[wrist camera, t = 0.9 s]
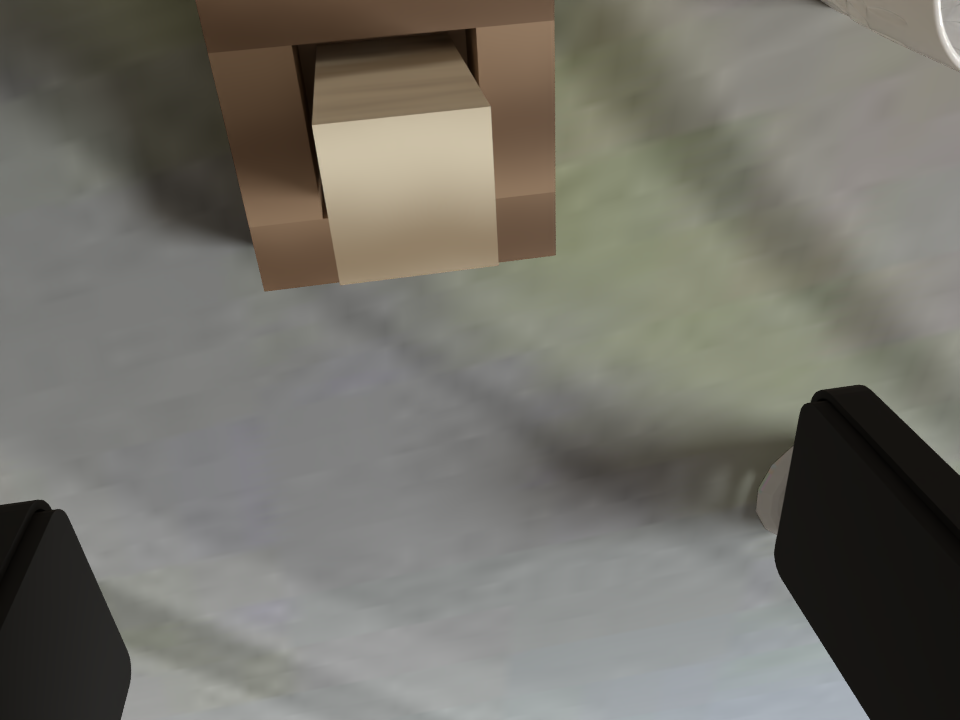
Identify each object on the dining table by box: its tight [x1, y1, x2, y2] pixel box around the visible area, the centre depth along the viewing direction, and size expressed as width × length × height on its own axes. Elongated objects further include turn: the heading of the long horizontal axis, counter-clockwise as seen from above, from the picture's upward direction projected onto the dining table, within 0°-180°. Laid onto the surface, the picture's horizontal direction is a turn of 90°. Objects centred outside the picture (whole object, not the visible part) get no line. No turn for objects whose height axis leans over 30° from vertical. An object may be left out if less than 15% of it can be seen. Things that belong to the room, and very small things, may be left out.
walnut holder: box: [195, 0, 556, 291], centre depth 31 cm, size 12×12×4 cm
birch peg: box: [312, 33, 499, 285], centre depth 28 cm, size 5×5×10 cm
